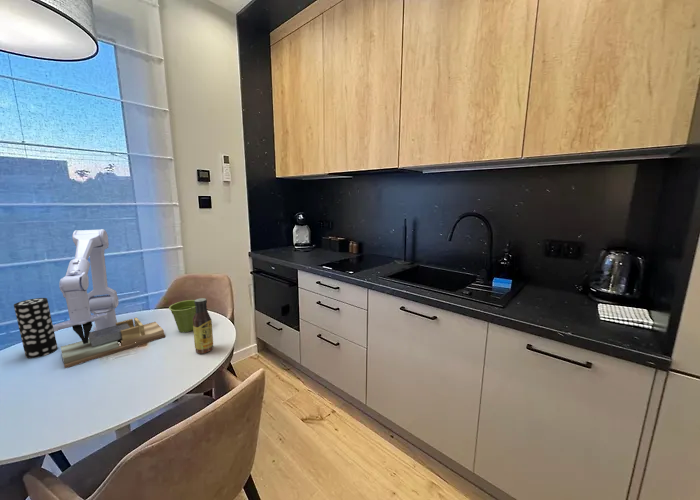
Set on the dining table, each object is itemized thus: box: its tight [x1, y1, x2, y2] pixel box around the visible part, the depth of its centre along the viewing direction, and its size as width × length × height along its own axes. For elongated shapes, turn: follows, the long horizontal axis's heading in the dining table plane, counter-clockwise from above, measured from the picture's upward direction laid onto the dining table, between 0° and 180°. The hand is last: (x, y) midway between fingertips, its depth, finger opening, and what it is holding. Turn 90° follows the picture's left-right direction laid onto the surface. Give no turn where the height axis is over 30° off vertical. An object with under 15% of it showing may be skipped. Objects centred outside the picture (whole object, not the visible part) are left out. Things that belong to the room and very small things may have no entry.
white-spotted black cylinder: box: [13, 297, 58, 359], centre depth 108 cm, size 8×8×20 cm
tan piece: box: [60, 317, 166, 369], centre depth 114 cm, size 14×30×7 cm, turn 137°
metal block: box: [88, 323, 130, 347], centre depth 113 cm, size 8×12×3 cm, turn 137°
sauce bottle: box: [192, 297, 214, 354], centre depth 108 cm, size 6×6×20 cm
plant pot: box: [168, 299, 196, 333], centre depth 127 cm, size 12×12×11 cm
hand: (85, 342), depth 108 cm, fingers closed
